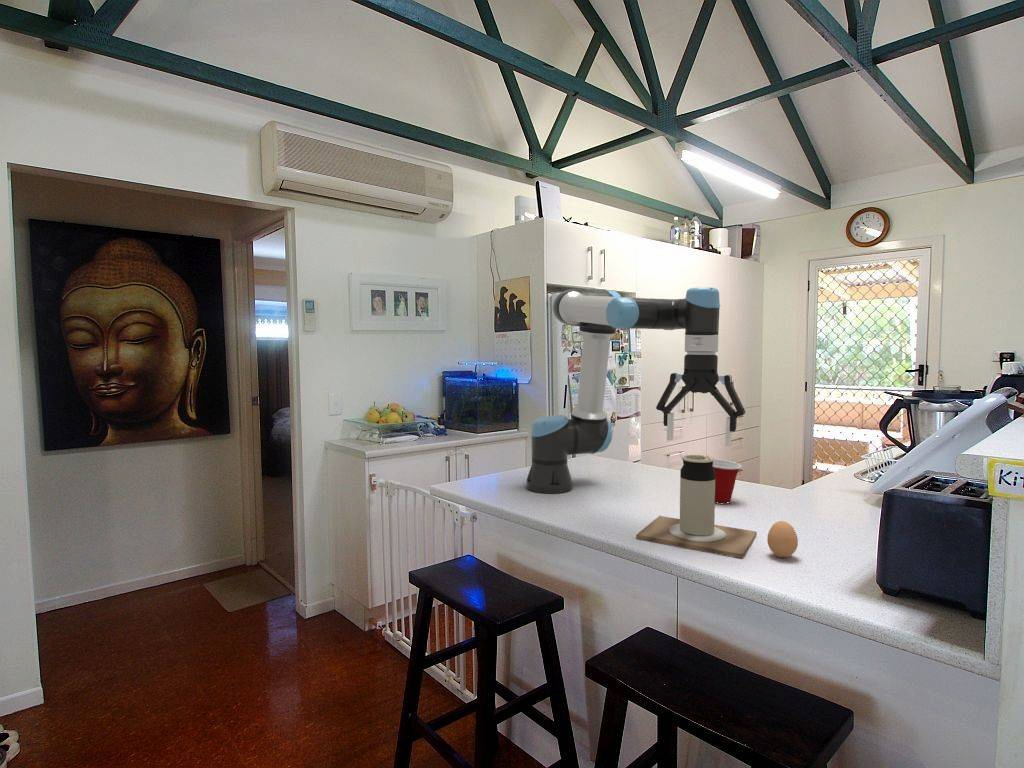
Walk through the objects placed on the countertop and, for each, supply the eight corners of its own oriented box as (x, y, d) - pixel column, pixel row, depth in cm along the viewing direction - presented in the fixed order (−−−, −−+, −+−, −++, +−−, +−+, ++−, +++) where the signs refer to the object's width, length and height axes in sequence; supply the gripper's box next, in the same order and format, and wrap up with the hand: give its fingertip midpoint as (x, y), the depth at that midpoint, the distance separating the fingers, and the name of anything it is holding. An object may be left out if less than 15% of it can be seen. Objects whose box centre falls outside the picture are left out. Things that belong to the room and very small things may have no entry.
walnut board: (636, 538, 134) (636, 532, 134) (659, 519, 149) (659, 514, 149) (742, 558, 121) (743, 552, 121) (756, 535, 136) (756, 529, 136)
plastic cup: (734, 509, 159) (735, 467, 158) (696, 502, 166) (697, 462, 165) (744, 500, 168) (745, 461, 167) (708, 495, 174) (709, 457, 174)
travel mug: (678, 534, 133) (679, 459, 132) (680, 524, 140) (681, 453, 139) (714, 538, 130) (715, 461, 129) (714, 527, 138) (715, 455, 136)
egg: (783, 563, 119) (784, 527, 118) (760, 554, 124) (761, 519, 124) (803, 559, 121) (804, 523, 121) (780, 550, 127) (781, 515, 126)
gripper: (644, 353, 136) (642, 439, 138) (755, 354, 123) (751, 450, 124) (654, 352, 142) (652, 435, 144) (760, 354, 129) (757, 445, 131)
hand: (698, 442), depth 134 cm, fingers open, 13 cm apart
